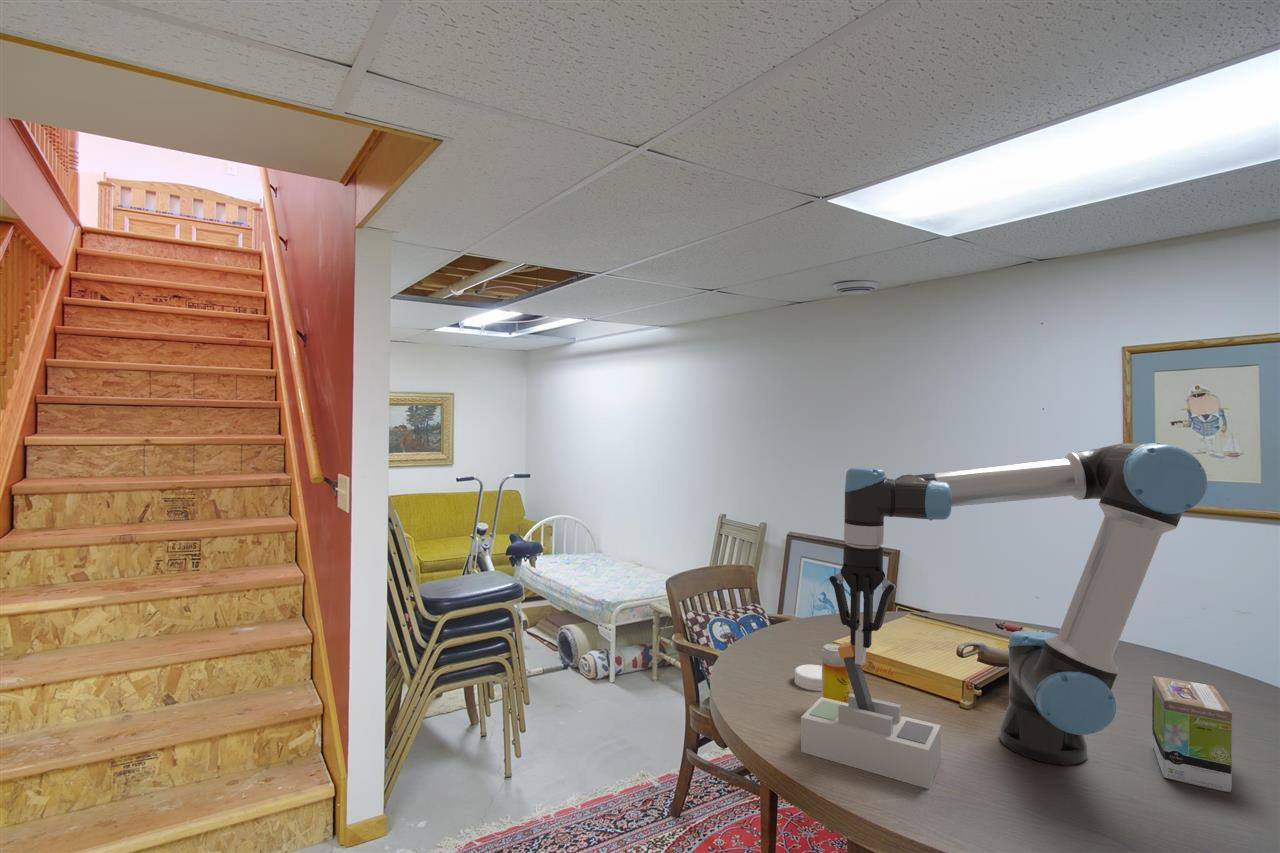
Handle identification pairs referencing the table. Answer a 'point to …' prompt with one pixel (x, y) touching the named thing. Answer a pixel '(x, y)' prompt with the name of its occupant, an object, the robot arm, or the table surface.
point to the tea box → (1192, 733)
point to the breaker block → (873, 739)
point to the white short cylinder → (809, 677)
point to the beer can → (834, 675)
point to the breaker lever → (856, 677)
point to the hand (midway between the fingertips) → (860, 662)
